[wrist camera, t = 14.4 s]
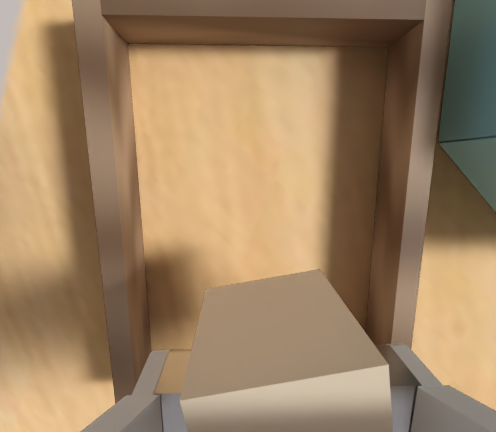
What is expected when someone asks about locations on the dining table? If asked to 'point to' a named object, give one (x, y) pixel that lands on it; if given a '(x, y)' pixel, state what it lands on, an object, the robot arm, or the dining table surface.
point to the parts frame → (261, 33)
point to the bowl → (472, 95)
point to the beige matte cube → (283, 362)
